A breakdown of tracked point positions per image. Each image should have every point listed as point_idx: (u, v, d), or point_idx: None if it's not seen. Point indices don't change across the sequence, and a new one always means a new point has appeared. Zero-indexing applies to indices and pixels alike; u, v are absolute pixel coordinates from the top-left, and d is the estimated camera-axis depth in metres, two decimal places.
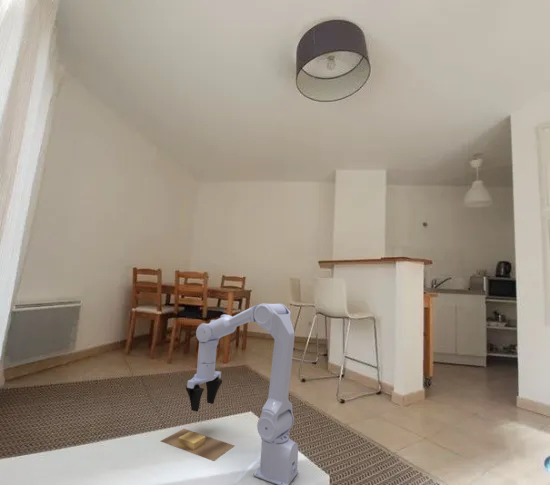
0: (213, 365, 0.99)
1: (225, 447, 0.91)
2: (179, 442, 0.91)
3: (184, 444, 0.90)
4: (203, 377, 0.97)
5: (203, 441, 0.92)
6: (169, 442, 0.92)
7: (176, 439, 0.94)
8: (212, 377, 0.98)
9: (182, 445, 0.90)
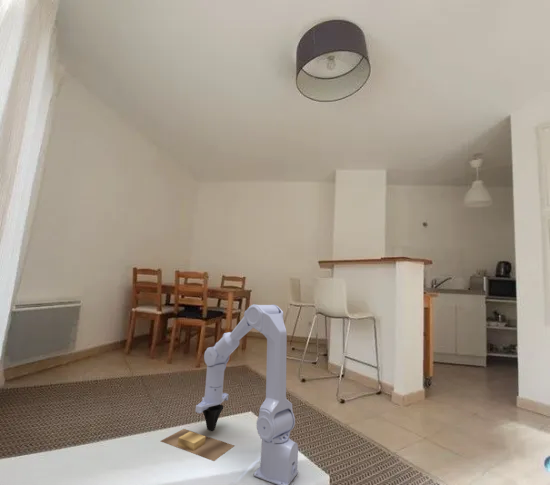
0: (221, 389, 1.00)
1: (225, 447, 0.91)
2: (179, 442, 0.91)
3: (184, 444, 0.90)
4: (211, 401, 0.98)
5: (203, 441, 0.92)
6: (169, 442, 0.92)
7: (176, 439, 0.94)
8: (220, 401, 1.00)
9: (182, 445, 0.90)
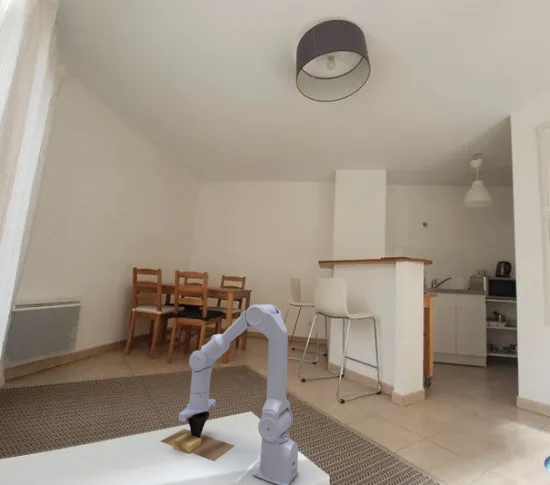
0: (206, 395, 0.94)
1: (225, 447, 0.91)
2: (175, 444, 0.89)
3: (180, 446, 0.88)
4: (196, 408, 0.92)
5: (199, 443, 0.90)
6: (169, 442, 0.92)
7: None
8: (205, 408, 0.93)
9: (178, 447, 0.88)
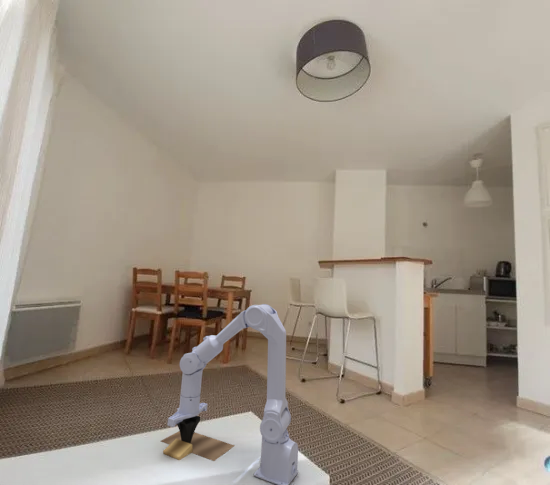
0: (197, 399, 0.90)
1: (225, 447, 0.91)
2: None
3: None
4: (186, 412, 0.88)
5: (190, 449, 0.87)
6: (169, 442, 0.92)
7: None
8: (196, 412, 0.90)
9: None
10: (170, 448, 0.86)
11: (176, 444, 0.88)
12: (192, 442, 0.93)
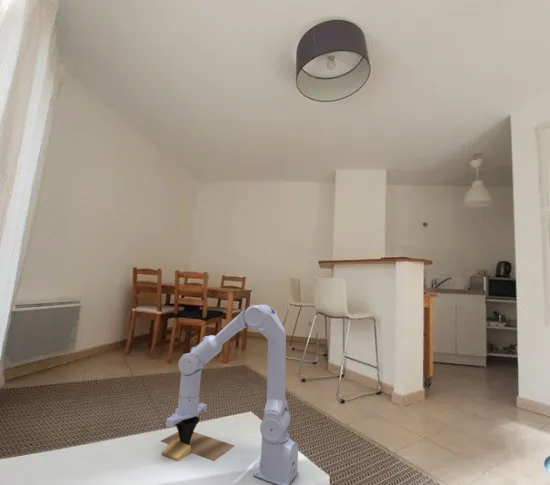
0: (196, 399, 0.90)
1: (225, 447, 0.91)
2: None
3: None
4: (184, 413, 0.88)
5: (189, 451, 0.86)
6: (169, 442, 0.92)
7: (176, 439, 0.94)
8: (195, 413, 0.89)
9: None
10: (169, 449, 0.86)
11: (175, 445, 0.87)
12: (192, 442, 0.93)
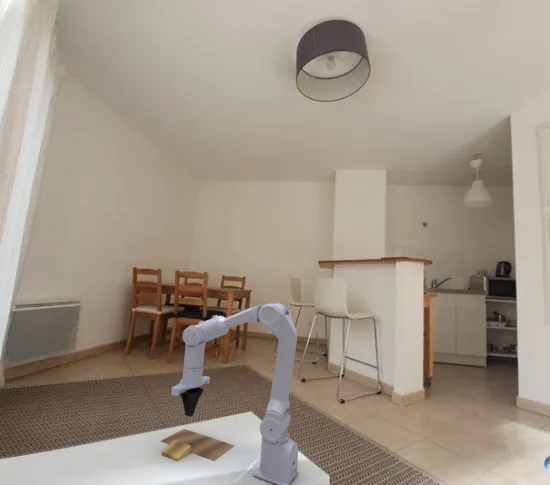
0: (200, 370, 0.91)
1: (225, 447, 0.91)
2: None
3: None
4: (189, 383, 0.89)
5: (189, 451, 0.86)
6: (169, 442, 0.92)
7: (176, 439, 0.94)
8: (199, 383, 0.91)
9: None
10: (169, 449, 0.86)
11: (175, 445, 0.87)
12: (192, 442, 0.93)
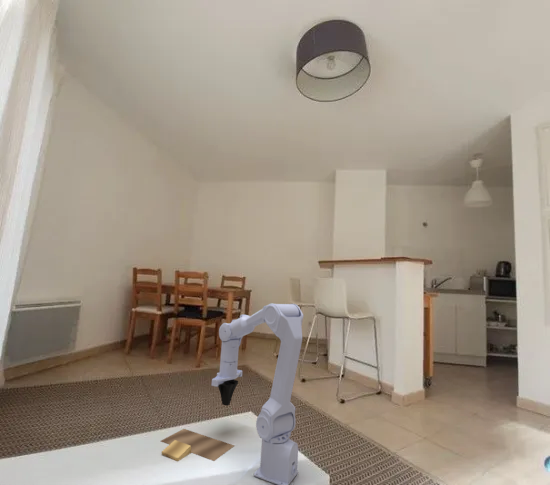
0: (236, 364, 1.01)
1: (225, 447, 0.91)
2: None
3: None
4: (226, 375, 0.99)
5: (189, 451, 0.86)
6: (169, 442, 0.92)
7: (176, 439, 0.94)
8: (235, 376, 1.00)
9: None
10: (169, 449, 0.86)
11: (175, 445, 0.87)
12: (192, 442, 0.93)
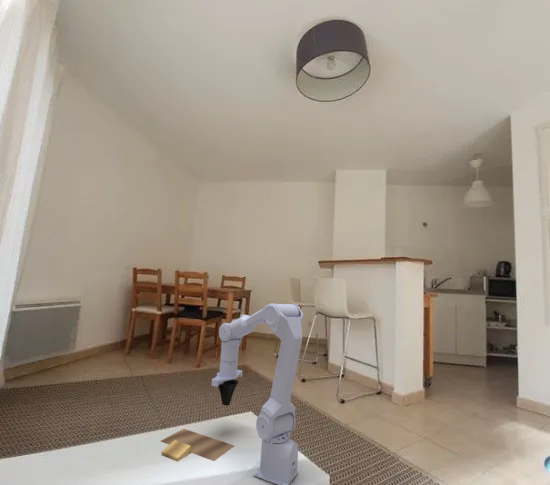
0: (236, 364, 1.01)
1: (225, 447, 0.91)
2: None
3: None
4: (226, 375, 0.99)
5: (189, 451, 0.86)
6: (169, 442, 0.92)
7: (176, 439, 0.94)
8: (235, 376, 1.00)
9: None
10: (169, 449, 0.86)
11: (175, 445, 0.87)
12: (192, 442, 0.93)
